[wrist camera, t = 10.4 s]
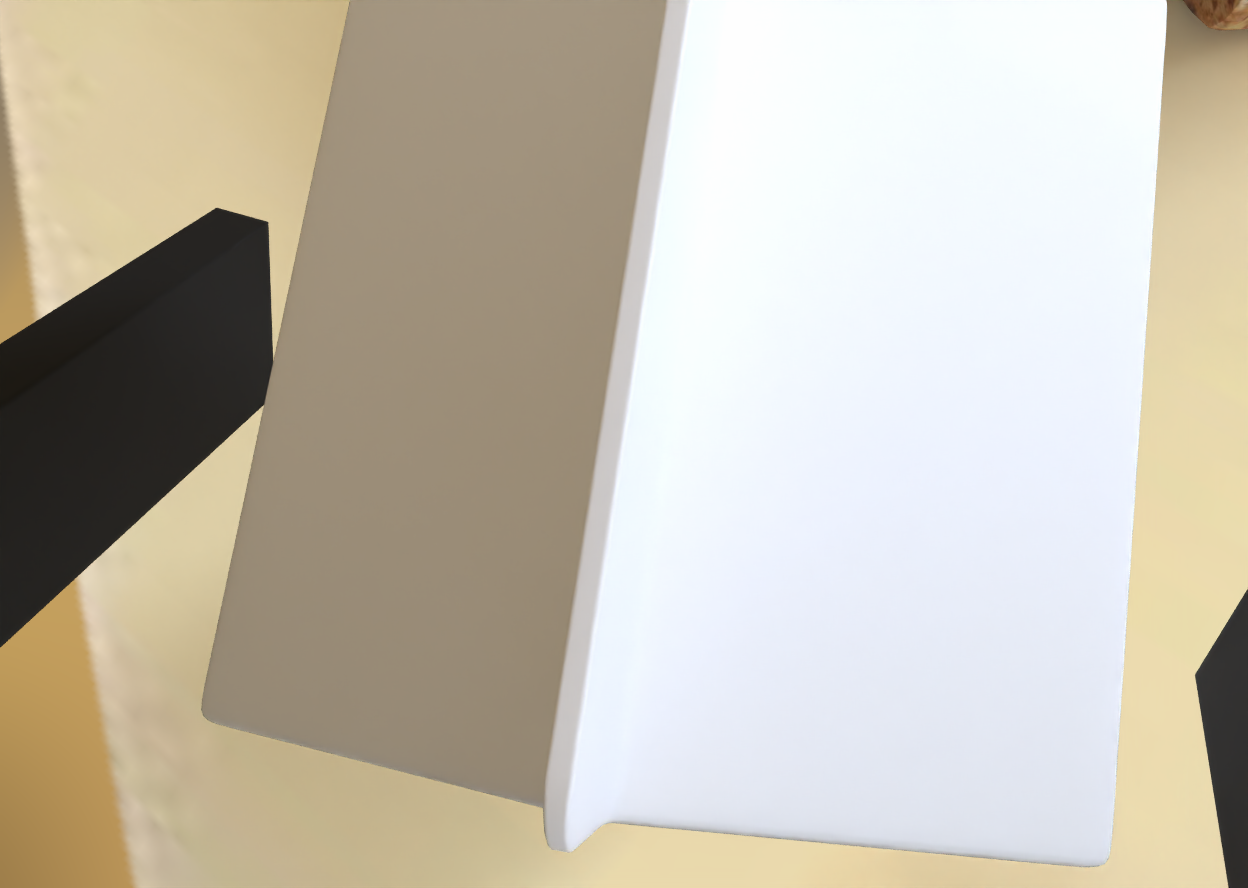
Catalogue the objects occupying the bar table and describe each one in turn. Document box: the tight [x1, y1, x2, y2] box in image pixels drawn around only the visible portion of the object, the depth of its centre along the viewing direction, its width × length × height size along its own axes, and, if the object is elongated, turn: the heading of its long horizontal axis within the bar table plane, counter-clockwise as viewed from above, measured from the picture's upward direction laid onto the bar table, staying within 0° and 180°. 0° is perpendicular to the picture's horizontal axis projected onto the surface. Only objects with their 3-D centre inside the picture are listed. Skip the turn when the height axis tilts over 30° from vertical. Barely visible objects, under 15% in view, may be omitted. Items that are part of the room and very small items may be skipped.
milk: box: [201, 0, 1167, 867], centre depth 16 cm, size 6×6×22 cm
